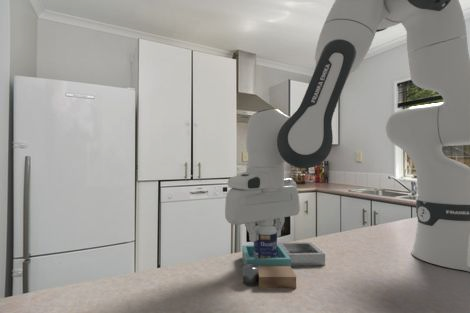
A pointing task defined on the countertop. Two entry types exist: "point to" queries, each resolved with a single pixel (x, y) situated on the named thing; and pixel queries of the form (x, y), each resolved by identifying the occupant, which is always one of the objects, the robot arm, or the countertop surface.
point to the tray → (279, 261)
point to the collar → (303, 253)
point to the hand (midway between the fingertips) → (265, 238)
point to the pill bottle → (266, 240)
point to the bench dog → (250, 274)
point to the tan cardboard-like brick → (276, 277)
